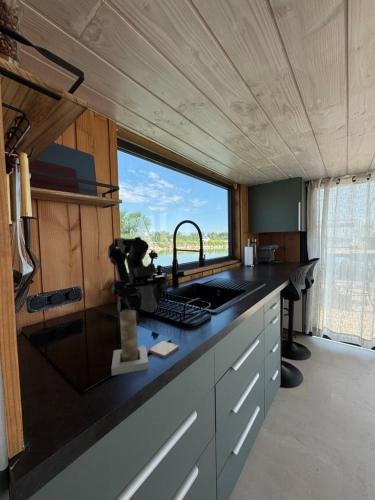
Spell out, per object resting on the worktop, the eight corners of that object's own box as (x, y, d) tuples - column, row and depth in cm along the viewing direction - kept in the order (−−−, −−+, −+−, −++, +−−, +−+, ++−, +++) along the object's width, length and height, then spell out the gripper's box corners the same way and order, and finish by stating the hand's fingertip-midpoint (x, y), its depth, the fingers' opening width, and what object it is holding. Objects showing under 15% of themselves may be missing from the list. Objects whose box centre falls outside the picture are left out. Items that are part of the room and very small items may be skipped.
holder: (114, 356, 71) (113, 350, 71) (145, 351, 73) (145, 345, 73) (111, 375, 61) (111, 368, 61) (148, 368, 64) (148, 362, 64)
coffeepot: (137, 315, 106) (135, 278, 105) (134, 309, 115) (132, 275, 114) (168, 310, 112) (167, 275, 111) (163, 305, 121) (162, 272, 120)
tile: (148, 351, 73) (148, 349, 73) (163, 342, 79) (162, 340, 79) (164, 358, 69) (164, 355, 69) (178, 348, 75) (178, 346, 75)
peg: (120, 367, 65) (117, 315, 64) (124, 358, 70) (122, 310, 68) (136, 366, 65) (133, 314, 64) (139, 357, 70) (137, 309, 68)
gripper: (112, 258, 72) (121, 303, 65) (165, 254, 81) (178, 293, 74) (108, 274, 80) (115, 316, 73) (157, 268, 89) (167, 305, 82)
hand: (145, 307), depth 75 cm, fingers open, 9 cm apart
